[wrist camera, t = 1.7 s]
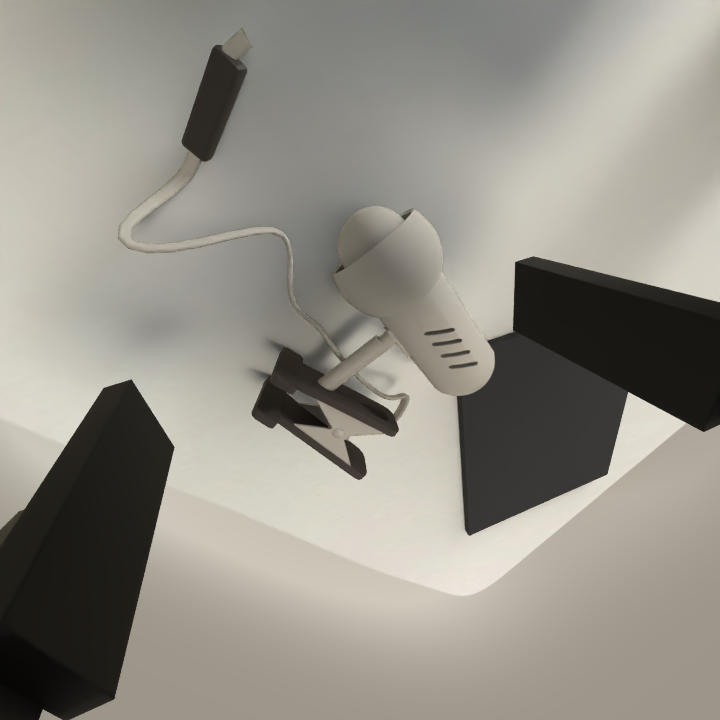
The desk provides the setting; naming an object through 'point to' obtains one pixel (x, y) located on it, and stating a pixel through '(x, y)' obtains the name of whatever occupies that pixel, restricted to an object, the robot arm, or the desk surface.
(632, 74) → the desk surface
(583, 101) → the desk surface
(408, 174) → the desk surface
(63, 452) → the robot arm
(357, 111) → the desk surface
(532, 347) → the desk mat
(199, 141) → the clip-on lamp
